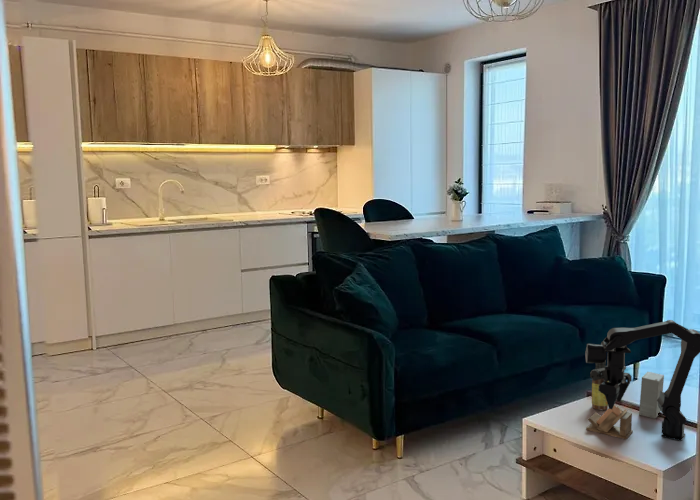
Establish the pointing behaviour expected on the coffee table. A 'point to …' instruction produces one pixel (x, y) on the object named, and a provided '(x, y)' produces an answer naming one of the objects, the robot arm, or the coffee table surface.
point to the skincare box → (650, 394)
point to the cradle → (612, 424)
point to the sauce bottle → (598, 392)
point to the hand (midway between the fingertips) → (614, 405)
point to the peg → (605, 415)
